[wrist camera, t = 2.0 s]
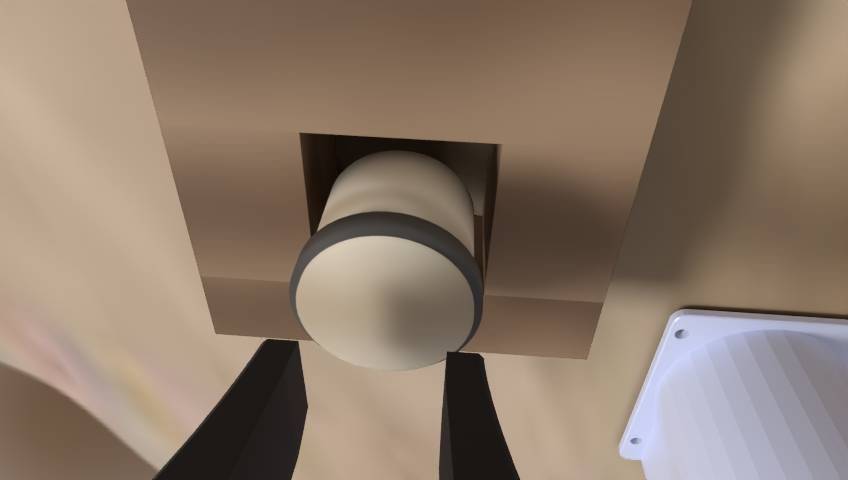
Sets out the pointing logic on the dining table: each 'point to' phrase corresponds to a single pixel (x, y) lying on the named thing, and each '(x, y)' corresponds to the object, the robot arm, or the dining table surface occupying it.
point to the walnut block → (412, 119)
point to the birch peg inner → (391, 265)
